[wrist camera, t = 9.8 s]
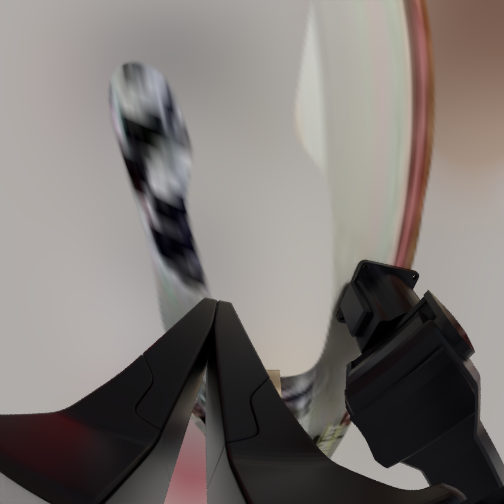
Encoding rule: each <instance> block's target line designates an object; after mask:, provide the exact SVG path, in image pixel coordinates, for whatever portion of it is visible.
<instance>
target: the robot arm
mask: <svg viewBox="0 0 504 504" xmlns="http://www.w3.org/2000/svg"><path fill="white" fill-rule="evenodd" d="M364 265H367V266H366V267H365V268H363V266H364ZM414 275H415V276H414ZM413 276H414V277H413ZM418 278H419V274H418V273H417V272H416V271H414V270H410V269H405V268H401V267H396V266H392V265H387V264H383V263H378V262H374V261H369V260H363V261H361V262H360V264H359V266H358V268H357V271H356V273H355V275H354V278H353V280H352V281H351V282H350V283H349V286H348V288H347V290H346V292H345V295H344V297H343V299H342V301H341V303H340V309H339V311H338V313H337V316H336V318H337V321H338V322H341V323H347V326H348V328H349V331H350V334H351V335H352V337H356V340H357V343H358V345H359V348H360V351H361V353H362V355H360V356H359V357H358V358H357V359H355V360H354V361H351V362H350V363H349V364H347V370H346V389H345V393H344V395H345V404H346V409H347V410H348V413H349V415H350V419H351V421H352V422H353V423H354V424H355V425H356V426H357V427H358V429H359V430H360V432H361V433H362V435H363V436H364V437H365V439H366V441H367V443H368V445H369V448H370V450H371V452H372V454H373V457H374V459H375V460H376V461H377V462H378V463H379V464H381V465H382V466H384V467H385V468H389V467H391V466H393V465H395V464H397V463H399V462H400V463H403V464H405V465H408V466H410V467H412V468H415V469H417V470H420V471H421V472H422V474H423V475H424V477H425V479H426V480H427V482H428V484H429V486H430V487H427V488H424V489H420V490H404V489H399V488H395V487H392V486H389V485H386V484H384V483H381V482H378V481H376V480H373V479H370V478H368V477H366V476H363V475H361V474H358V473H356V472H354V471H351V470H349V469H347V468H345V467H342V466H340V465H338V464H336V463H335V462H333V461H332V460H331V459H329V458H328V457H327V456H326V455H325V454H324V453H323V452H322V451H321V450H320V449H319V448H318V447H317V445H316V444H315V443H314V442H313V440H312V439H311V438H310V436H309V435H308V434H307V433H306V431H305V430H304V429H303V427H302V426H301V425H300V424H299V422H298V421H297V420H296V418H295V417H294V416H293V414H292V413H291V411H290V410H289V409H288V407H287V406H286V404H285V403H284V401H283V400H282V398H281V396H280V395H279V393H278V391H277V390H276V388H275V386H274V384H273V382H272V380H271V379H269V378H270V377H269V375H268V373H267V371H266V369H265V368H264V366H263V364H262V362H261V360H260V358H259V356H258V354H257V352H256V350H255V348H254V347H253V345H252V343H251V341H250V339H249V337H248V335H247V333H246V331H245V329H244V327H243V325H242V323H241V321H240V319H239V317H238V315H237V313H236V311H235V309H234V307H233V305H232V303H230V302H225V301H218V302H217V300H215V299H210V298H204V299H203V300H202V301H200V302H199V303H198V304H197V305H196V306H195V307H194V308H193V309H192V310H190V311H189V312H188V313H187V314H186V315H185V316H184V317H183V318H182V319H181V320H179V321H178V322H177V323H176V324H175V325H174V326H173V327H172V328H171V329H169V330H168V331H167V332H166V333H165V334H164V335H163V336H162V337H161V338H159V339H158V340H157V341H156V342H155V343H154V344H153V345H152V346H151V347H149V348H148V349H147V350H146V351H145V352H144V353H143V355H140V356H139V357H138V358H137V359H136V360H135V361H134V362H133V363H131V364H130V365H129V366H128V367H127V368H125V369H124V370H123V371H122V372H121V373H119V374H118V375H116V376H115V377H114V378H112V379H111V380H110V381H108V382H107V383H105V384H104V385H102V386H101V387H99V388H98V389H96V390H95V391H93V392H92V393H90V394H89V395H87V396H86V397H84V398H82V399H81V400H79V401H78V402H76V403H75V404H73V405H71V406H70V407H68V408H65V409H63V410H60V411H56V412H50V413H37V414H15V415H13V414H10V415H0V504H163V503H164V501H165V497H166V494H167V491H168V487H169V483H170V481H171V477H172V474H173V471H174V467H175V464H176V461H177V458H178V455H179V452H180V448H181V445H182V442H183V439H184V435H185V432H186V429H187V426H188V423H189V420H190V416H191V413H192V410H193V407H194V404H195V400H196V397H197V394H198V391H199V388H200V385H201V382H202V378H203V375H204V372H205V369H206V364H207V371H206V478H207V479H206V481H207V504H504V464H503V462H502V460H501V458H500V456H499V454H498V452H497V450H496V448H495V446H494V444H493V443H492V441H491V439H490V437H489V435H488V433H487V432H486V430H485V428H484V426H483V425H482V422H481V421H480V399H481V398H480V396H481V395H480V391H481V387H480V375H479V372H478V371H477V369H476V368H475V366H474V365H473V363H472V362H471V360H470V359H469V357H471V356H472V355H473V354H474V353H475V350H474V348H473V346H472V344H471V342H470V340H469V338H468V336H467V334H466V332H465V331H464V329H463V328H462V327H461V325H460V324H459V323H458V321H457V320H456V319H455V318H454V316H453V315H452V314H451V313H450V312H449V311H448V310H447V309H446V308H445V306H444V305H443V304H442V303H441V302H440V301H439V300H438V299H437V298H436V297H435V296H434V295H433V294H432V293H431V292H430V291H429V290H428V291H427V292H426V293H425V294H424V297H423V298H422V299H421V300H420V299H419V297H418V296H417V295H416V293H415V292H414V291H413V288H414V286H415V284H416V282H417V280H418ZM216 308H217V309H216ZM342 316H343V317H342ZM340 317H342V318H340ZM210 342H211V343H210ZM209 348H210V349H209ZM208 354H209V355H208ZM207 360H208V361H207Z"/></svg>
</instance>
